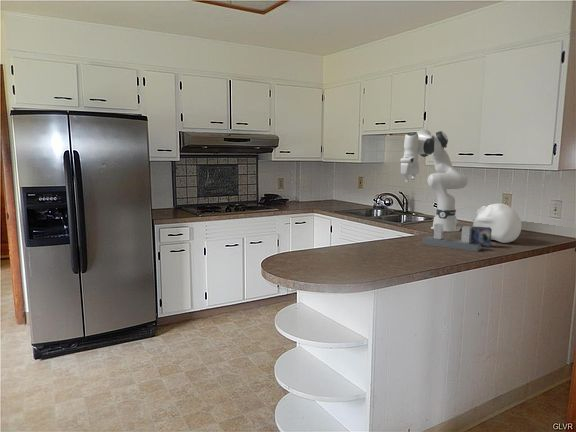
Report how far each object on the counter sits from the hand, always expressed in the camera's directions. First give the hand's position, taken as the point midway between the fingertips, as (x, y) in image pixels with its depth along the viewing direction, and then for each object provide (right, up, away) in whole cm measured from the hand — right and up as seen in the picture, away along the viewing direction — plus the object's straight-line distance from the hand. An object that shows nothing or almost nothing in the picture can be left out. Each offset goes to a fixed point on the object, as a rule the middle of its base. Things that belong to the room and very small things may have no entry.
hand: (409, 181), depth 258 cm
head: (+47, -36, -10) cm, 60 cm away
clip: (+9, -38, -23) cm, 45 cm away
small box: (+32, -39, -25) cm, 56 cm away
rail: (+15, -39, -27) cm, 49 cm away
